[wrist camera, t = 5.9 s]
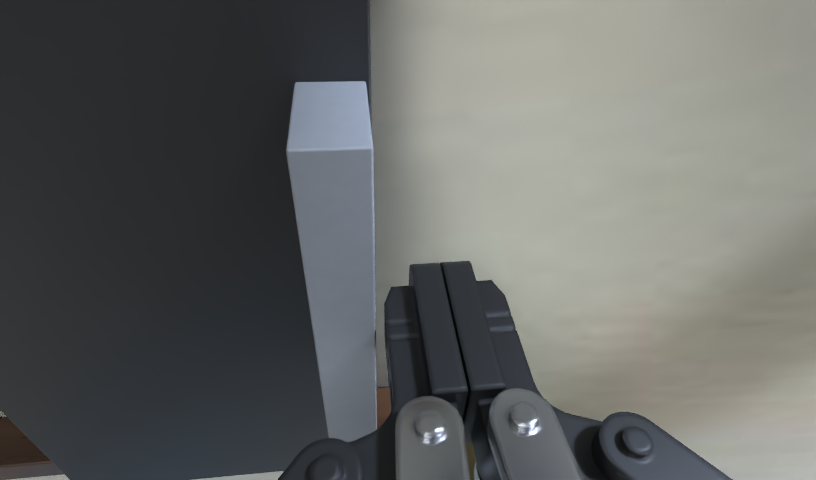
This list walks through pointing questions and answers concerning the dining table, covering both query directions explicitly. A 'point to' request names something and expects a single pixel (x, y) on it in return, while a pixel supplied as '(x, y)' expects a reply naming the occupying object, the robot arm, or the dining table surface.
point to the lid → (186, 232)
